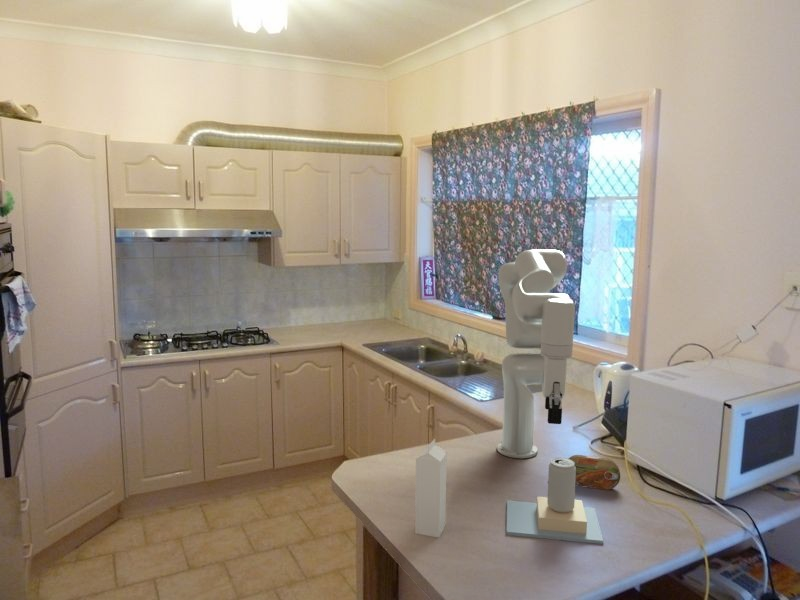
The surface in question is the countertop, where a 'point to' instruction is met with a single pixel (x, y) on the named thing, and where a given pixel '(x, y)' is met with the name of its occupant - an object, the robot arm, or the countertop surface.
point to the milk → (431, 491)
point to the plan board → (530, 526)
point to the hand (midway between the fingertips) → (552, 416)
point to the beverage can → (561, 485)
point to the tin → (595, 472)
